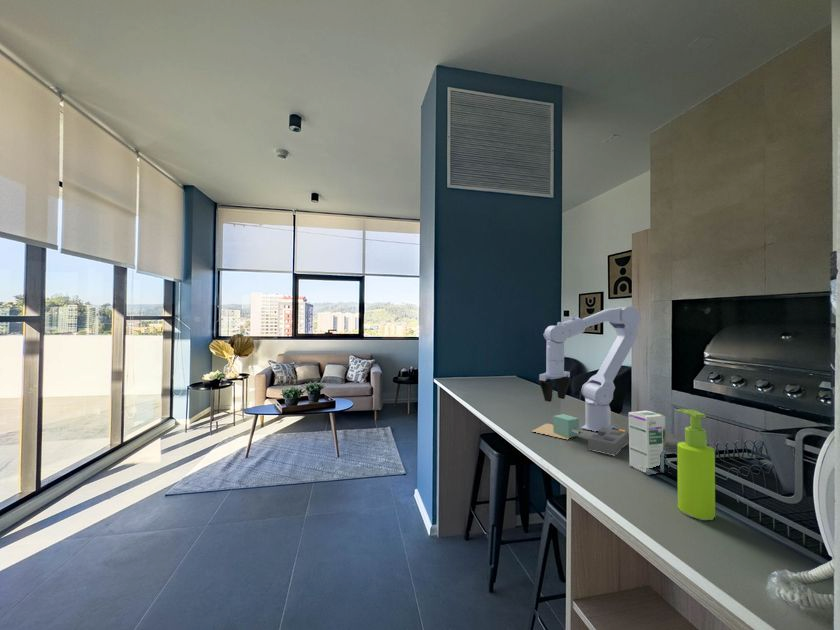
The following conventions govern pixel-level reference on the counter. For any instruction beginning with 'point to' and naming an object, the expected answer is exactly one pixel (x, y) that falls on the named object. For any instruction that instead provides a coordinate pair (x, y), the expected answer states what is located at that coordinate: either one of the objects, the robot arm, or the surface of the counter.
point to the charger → (566, 425)
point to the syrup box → (646, 439)
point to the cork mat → (548, 431)
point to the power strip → (608, 440)
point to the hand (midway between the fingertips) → (554, 399)
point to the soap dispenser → (696, 470)
